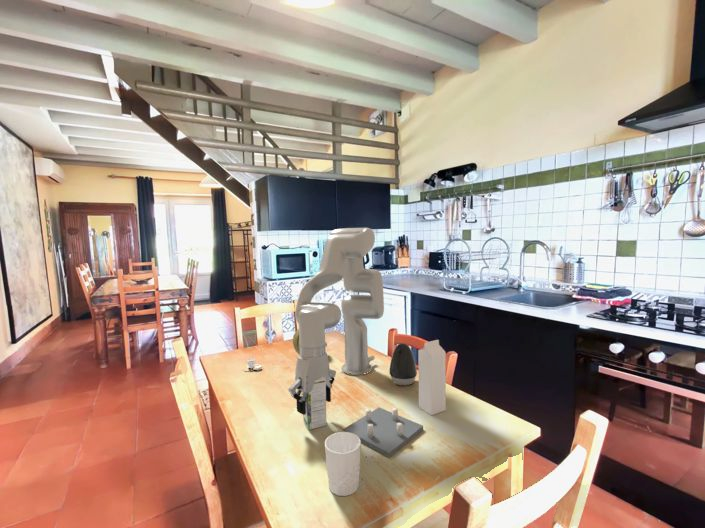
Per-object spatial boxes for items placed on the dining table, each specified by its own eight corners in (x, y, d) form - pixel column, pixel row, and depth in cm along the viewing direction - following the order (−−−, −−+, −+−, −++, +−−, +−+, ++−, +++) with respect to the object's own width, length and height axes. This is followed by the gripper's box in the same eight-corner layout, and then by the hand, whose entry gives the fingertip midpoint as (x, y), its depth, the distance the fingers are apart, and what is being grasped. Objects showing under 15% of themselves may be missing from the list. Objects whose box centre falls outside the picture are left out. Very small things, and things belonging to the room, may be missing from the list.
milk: (445, 410, 104) (446, 342, 102) (431, 415, 101) (431, 345, 99) (432, 402, 109) (432, 337, 107) (418, 407, 106) (418, 340, 105)
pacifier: (264, 370, 141) (264, 361, 141) (245, 375, 136) (245, 365, 136) (258, 364, 148) (257, 355, 148) (240, 368, 144) (239, 359, 143)
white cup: (326, 474, 77) (324, 432, 76) (359, 471, 77) (358, 430, 77) (326, 500, 69) (324, 454, 68) (363, 497, 70) (362, 451, 69)
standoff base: (379, 410, 104) (378, 398, 104) (423, 429, 94) (423, 415, 93) (343, 433, 93) (343, 418, 93) (389, 457, 82) (388, 441, 82)
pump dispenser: (385, 385, 122) (384, 345, 121) (395, 375, 132) (394, 338, 130) (412, 391, 118) (411, 349, 117) (420, 379, 127) (419, 341, 126)
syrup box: (302, 420, 100) (301, 374, 99) (321, 416, 102) (319, 370, 101) (308, 430, 94) (306, 381, 93) (327, 425, 97) (326, 377, 96)
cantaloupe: (325, 349, 164) (324, 320, 163) (324, 360, 150) (323, 328, 149) (295, 351, 164) (294, 321, 162) (291, 362, 149) (289, 329, 148)
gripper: (326, 340, 106) (327, 392, 107) (280, 355, 93) (282, 413, 94) (342, 345, 100) (343, 399, 102) (296, 361, 88) (298, 423, 89)
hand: (314, 406), depth 98 cm, fingers open, 9 cm apart
